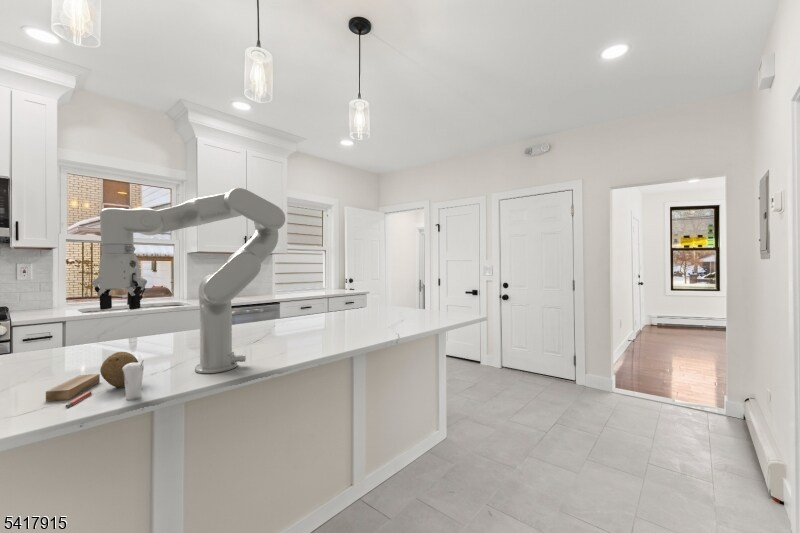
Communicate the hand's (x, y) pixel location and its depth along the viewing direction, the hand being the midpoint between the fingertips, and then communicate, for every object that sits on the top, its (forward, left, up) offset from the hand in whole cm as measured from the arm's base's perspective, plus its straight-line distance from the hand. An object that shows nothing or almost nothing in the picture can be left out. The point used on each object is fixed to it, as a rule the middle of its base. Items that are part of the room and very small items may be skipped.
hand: (120, 309), depth 106 cm
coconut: (-2, +4, -22) cm, 22 cm away
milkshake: (-10, +15, -22) cm, 28 cm away
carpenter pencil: (+3, +13, -22) cm, 26 cm away
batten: (+9, +5, -22) cm, 24 cm away
